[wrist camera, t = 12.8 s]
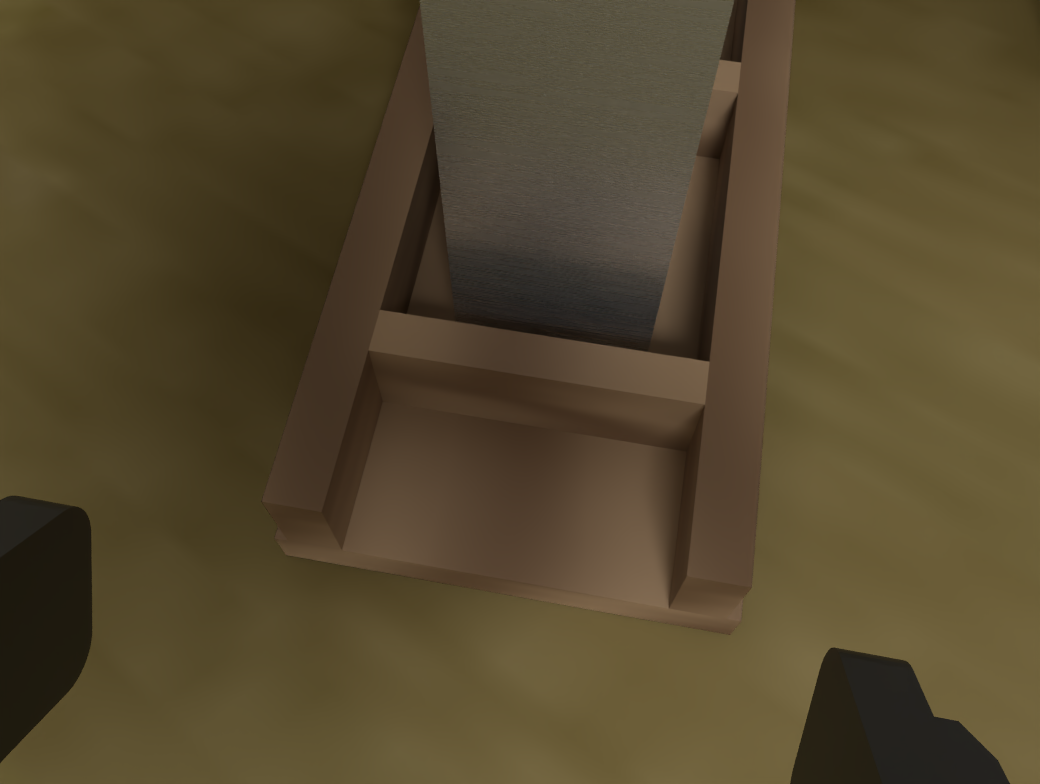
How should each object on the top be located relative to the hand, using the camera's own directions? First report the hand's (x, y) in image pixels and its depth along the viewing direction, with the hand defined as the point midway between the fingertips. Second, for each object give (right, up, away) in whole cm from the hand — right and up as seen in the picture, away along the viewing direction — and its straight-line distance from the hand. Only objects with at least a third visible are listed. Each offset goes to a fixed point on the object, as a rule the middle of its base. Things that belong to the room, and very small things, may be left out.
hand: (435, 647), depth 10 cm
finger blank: (+2, +6, +14) cm, 15 cm away
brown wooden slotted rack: (+3, +8, +16) cm, 18 cm away
